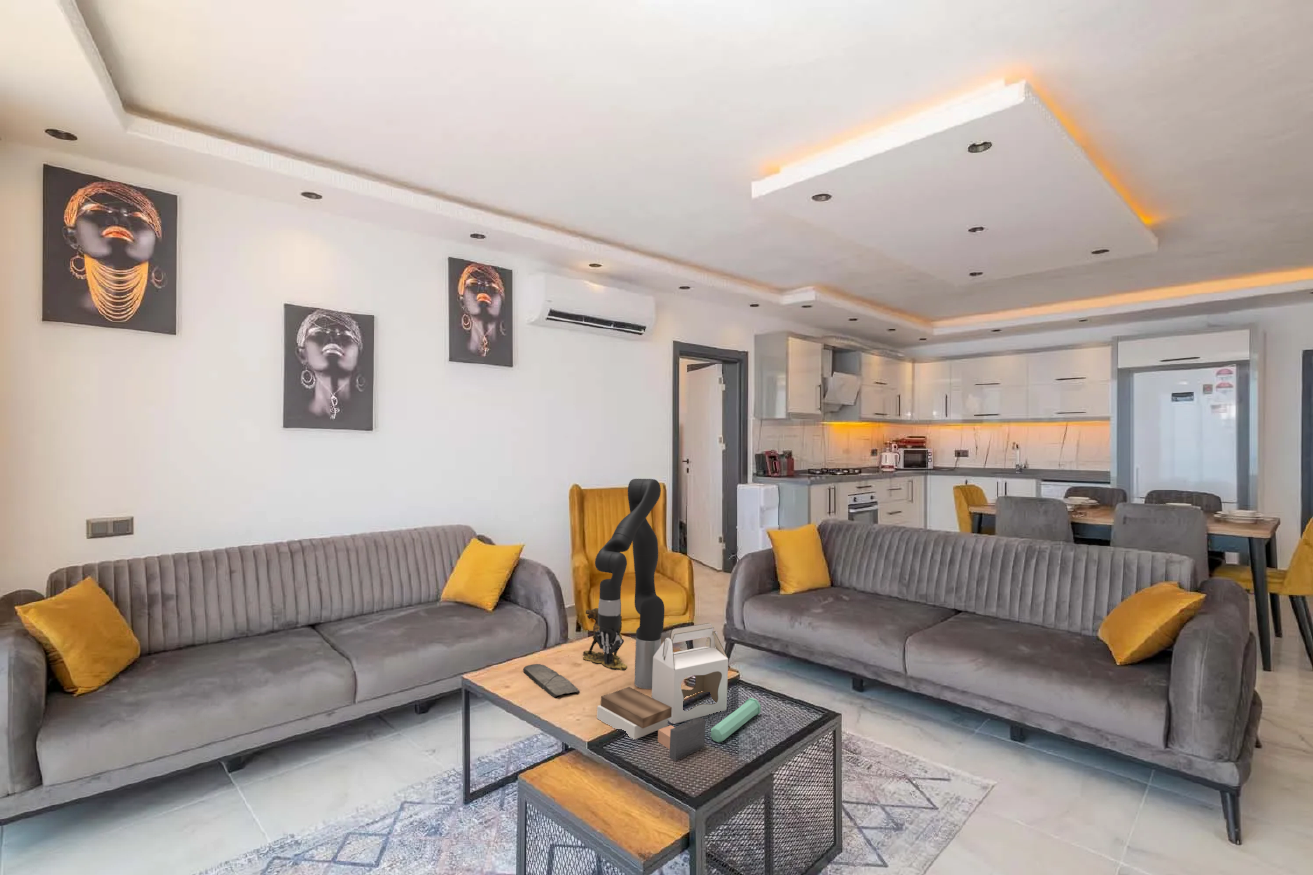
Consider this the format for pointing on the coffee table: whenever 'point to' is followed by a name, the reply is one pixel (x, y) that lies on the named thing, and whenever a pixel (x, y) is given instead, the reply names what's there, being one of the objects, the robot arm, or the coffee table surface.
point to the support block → (665, 736)
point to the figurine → (599, 657)
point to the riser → (627, 723)
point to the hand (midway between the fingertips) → (608, 663)
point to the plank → (636, 707)
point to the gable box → (690, 672)
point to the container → (735, 720)
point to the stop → (687, 738)
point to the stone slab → (549, 680)
